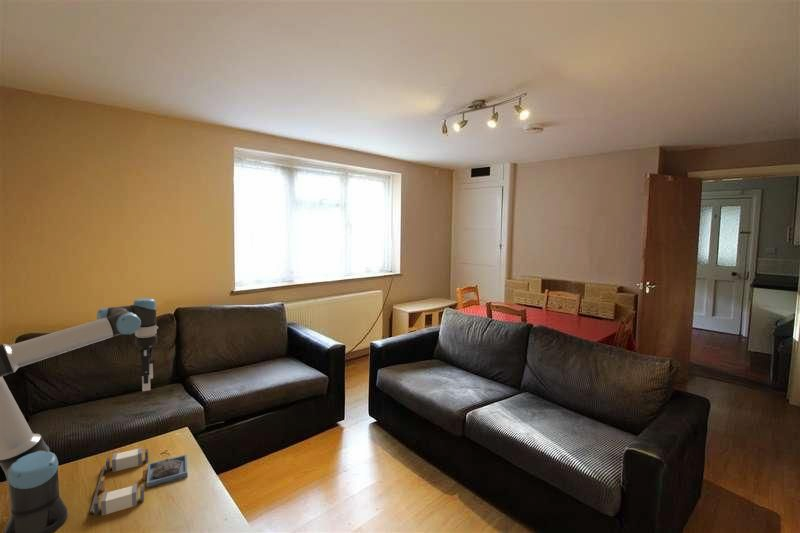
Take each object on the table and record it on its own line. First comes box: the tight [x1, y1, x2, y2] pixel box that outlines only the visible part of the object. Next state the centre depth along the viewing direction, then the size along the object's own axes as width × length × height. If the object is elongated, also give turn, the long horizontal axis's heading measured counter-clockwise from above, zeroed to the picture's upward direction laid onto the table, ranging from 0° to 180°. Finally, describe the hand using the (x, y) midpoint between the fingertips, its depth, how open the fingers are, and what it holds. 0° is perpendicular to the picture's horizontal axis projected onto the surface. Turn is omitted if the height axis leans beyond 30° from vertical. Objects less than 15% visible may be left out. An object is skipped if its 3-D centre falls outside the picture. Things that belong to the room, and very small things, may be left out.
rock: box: [151, 458, 182, 478], centre depth 154 cm, size 9×11×4 cm
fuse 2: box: [100, 483, 139, 517], centre depth 136 cm, size 10×5×5 cm, turn 121°
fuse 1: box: [111, 446, 144, 473], centre depth 159 cm, size 10×5×5 cm, turn 121°
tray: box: [146, 454, 189, 489], centre depth 155 cm, size 14×14×2 cm
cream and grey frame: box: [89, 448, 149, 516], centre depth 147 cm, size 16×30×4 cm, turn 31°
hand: (147, 384), depth 159 cm, fingers open, 13 cm apart
